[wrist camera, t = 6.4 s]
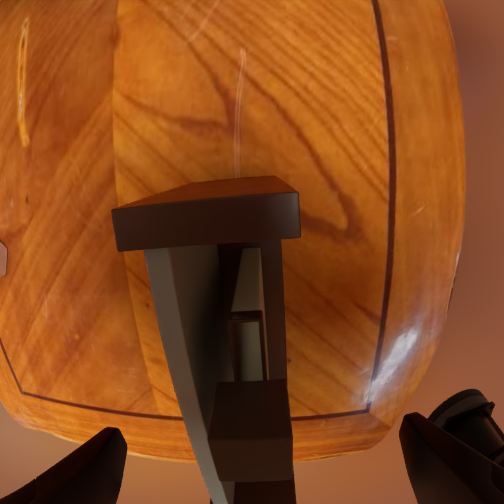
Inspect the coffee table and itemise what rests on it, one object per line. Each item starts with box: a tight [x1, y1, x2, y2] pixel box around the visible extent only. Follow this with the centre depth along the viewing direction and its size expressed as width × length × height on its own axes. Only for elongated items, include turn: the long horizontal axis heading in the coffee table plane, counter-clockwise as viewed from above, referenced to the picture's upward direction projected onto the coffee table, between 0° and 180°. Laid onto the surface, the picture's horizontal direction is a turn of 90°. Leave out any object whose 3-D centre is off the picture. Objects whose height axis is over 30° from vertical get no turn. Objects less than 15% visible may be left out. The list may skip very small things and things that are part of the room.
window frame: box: [111, 176, 301, 504], centre depth 16 cm, size 5×18×11 cm, turn 4°
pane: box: [207, 248, 293, 482], centre depth 13 cm, size 2×7×11 cm, turn 4°
